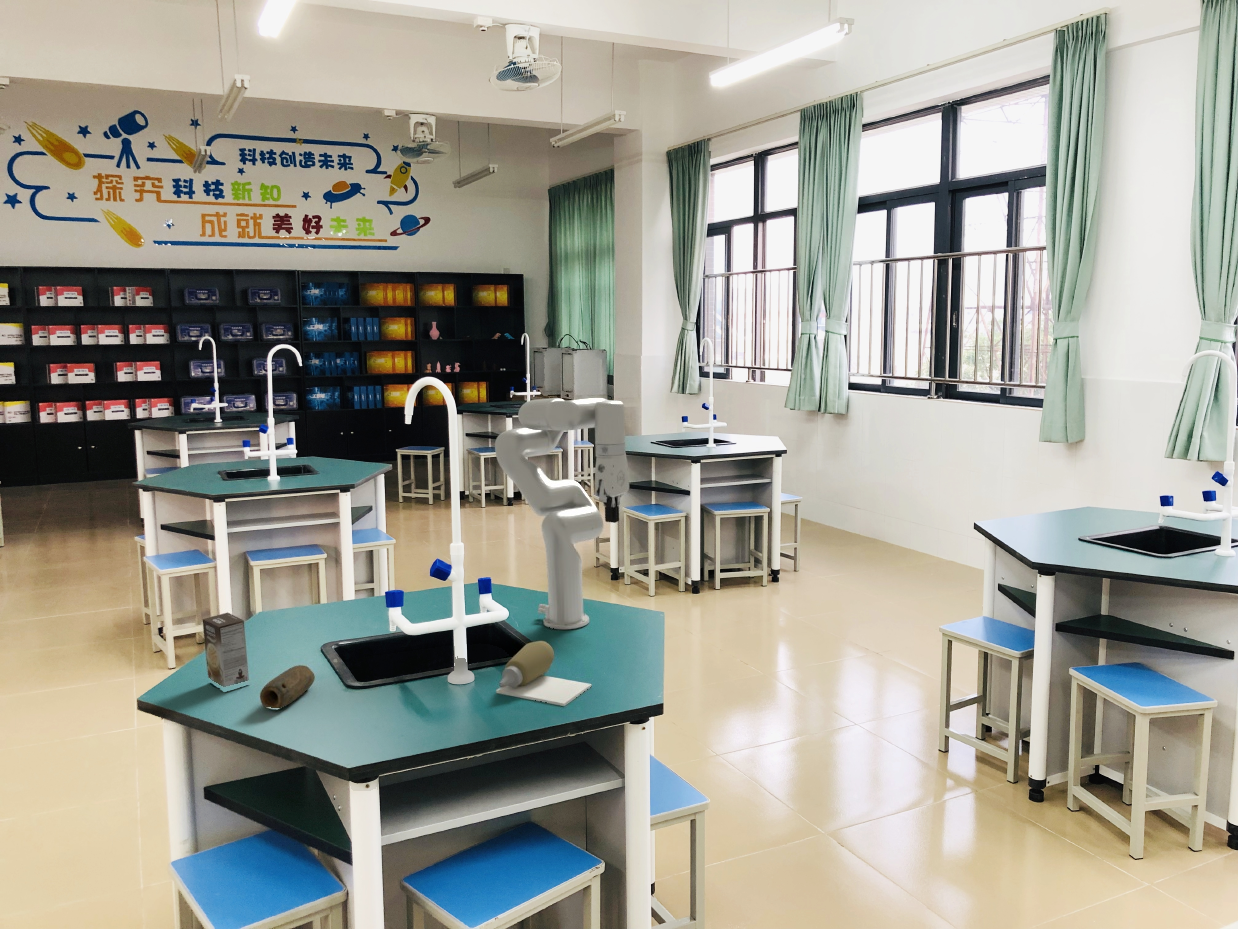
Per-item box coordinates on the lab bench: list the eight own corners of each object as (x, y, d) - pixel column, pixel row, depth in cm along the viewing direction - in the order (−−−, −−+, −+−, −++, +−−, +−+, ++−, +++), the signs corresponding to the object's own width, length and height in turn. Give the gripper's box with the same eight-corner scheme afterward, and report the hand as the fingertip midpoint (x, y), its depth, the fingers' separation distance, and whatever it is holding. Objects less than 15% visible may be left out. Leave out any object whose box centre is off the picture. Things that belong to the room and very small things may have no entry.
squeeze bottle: (531, 631, 225) (487, 663, 210) (560, 642, 222) (517, 675, 206) (528, 661, 228) (485, 694, 212) (557, 672, 224) (515, 707, 209)
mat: (496, 692, 213) (496, 690, 213) (525, 674, 224) (525, 672, 224) (564, 706, 205) (564, 703, 205) (591, 686, 216) (591, 684, 215)
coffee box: (207, 683, 224) (200, 618, 221) (233, 676, 228) (227, 611, 226) (224, 693, 217) (218, 626, 215) (251, 685, 222) (245, 619, 219)
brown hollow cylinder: (289, 714, 205) (287, 685, 204) (259, 713, 206) (256, 684, 205) (318, 687, 220) (316, 660, 219) (289, 687, 221) (287, 659, 220)
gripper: (608, 455, 229) (610, 529, 232) (637, 446, 241) (638, 517, 244) (582, 453, 232) (584, 526, 235) (612, 445, 245) (613, 514, 248)
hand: (612, 521), depth 240 cm, fingers closed
